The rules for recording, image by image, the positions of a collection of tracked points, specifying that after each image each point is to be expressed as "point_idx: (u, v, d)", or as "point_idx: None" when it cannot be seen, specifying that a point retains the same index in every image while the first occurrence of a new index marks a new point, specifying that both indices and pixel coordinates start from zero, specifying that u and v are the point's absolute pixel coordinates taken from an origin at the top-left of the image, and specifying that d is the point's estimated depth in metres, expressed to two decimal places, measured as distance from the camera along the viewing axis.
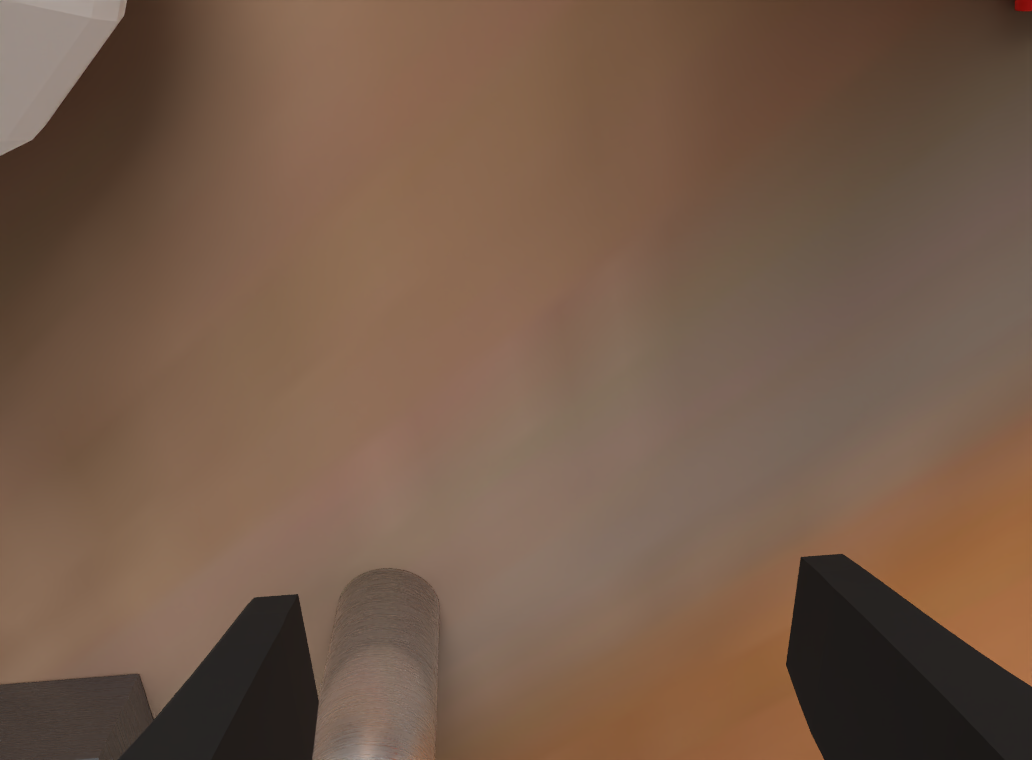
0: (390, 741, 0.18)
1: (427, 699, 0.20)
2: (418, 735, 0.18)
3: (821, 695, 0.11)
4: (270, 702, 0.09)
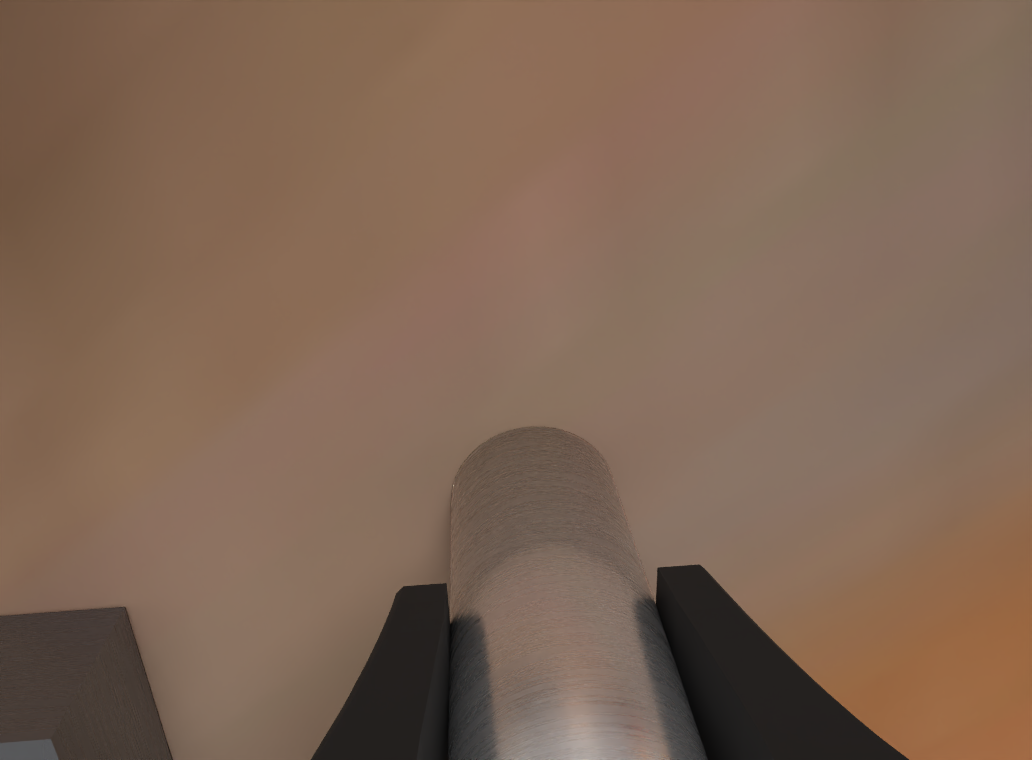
0: (638, 696, 0.09)
1: (660, 626, 0.11)
2: (674, 688, 0.09)
3: None
4: (441, 688, 0.10)
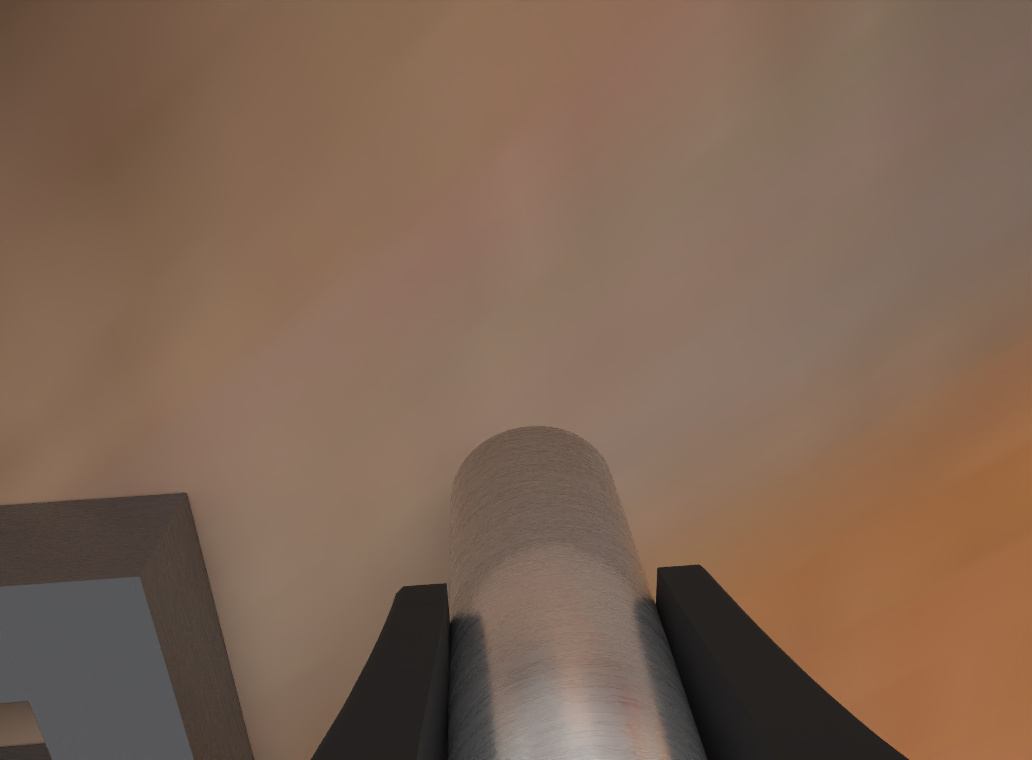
0: (637, 695, 0.09)
1: (660, 625, 0.11)
2: (673, 687, 0.09)
3: None
4: (441, 688, 0.10)
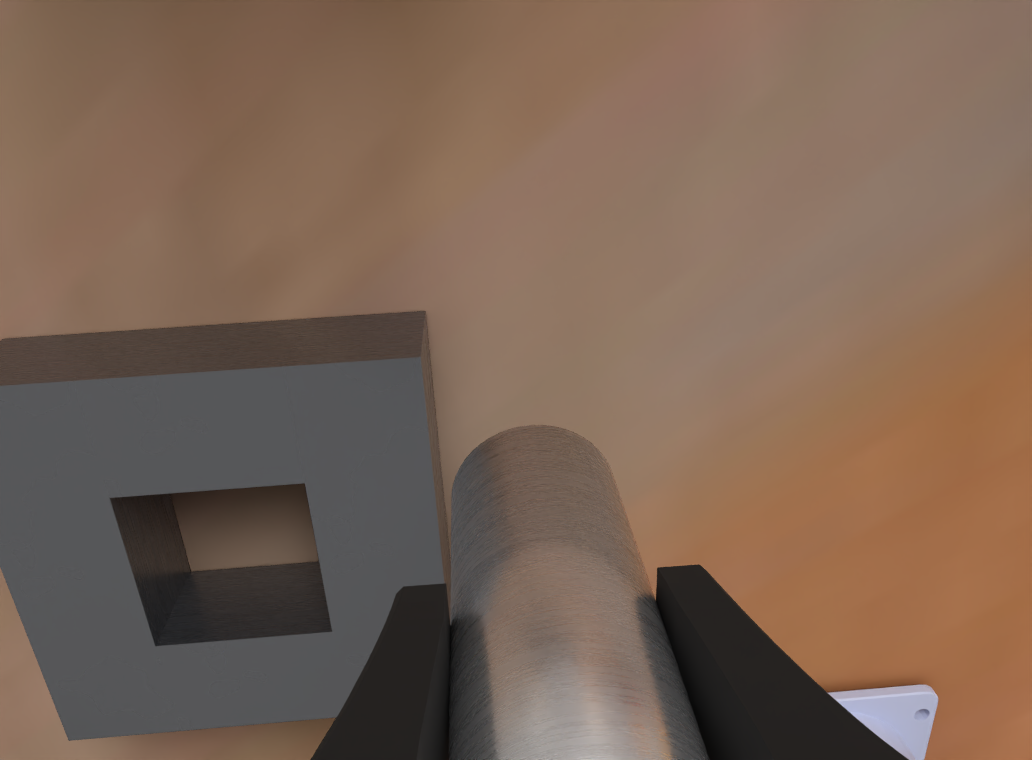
0: (638, 693, 0.09)
1: (661, 624, 0.11)
2: (675, 686, 0.09)
3: None
4: (441, 688, 0.10)
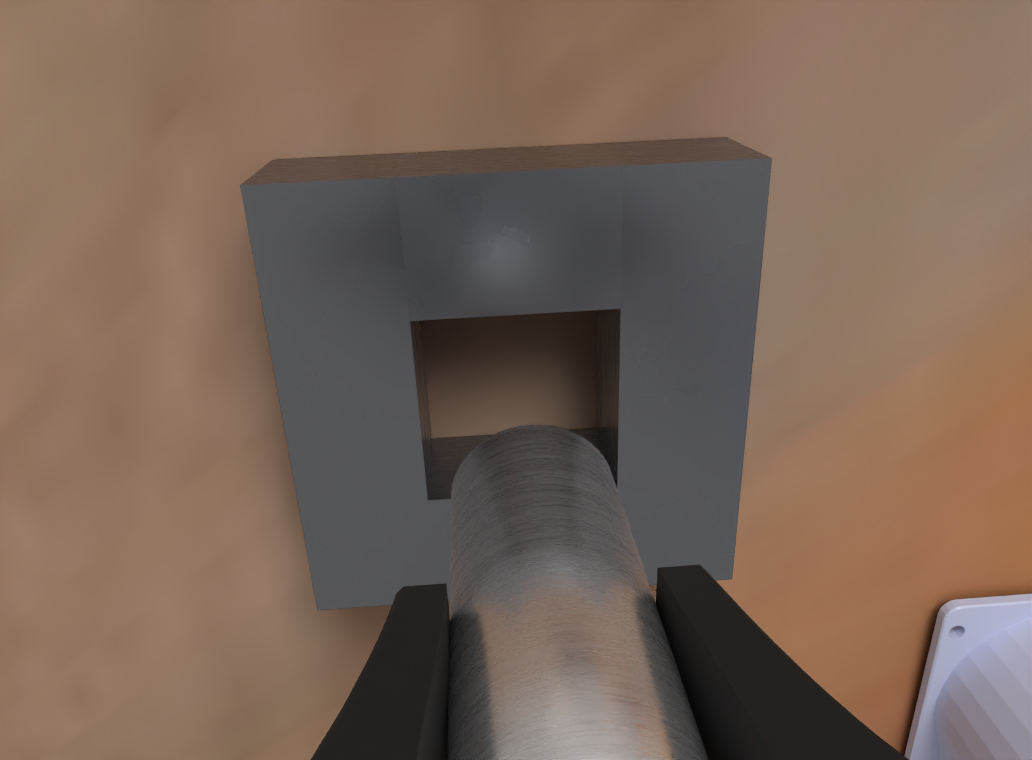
0: (637, 694, 0.09)
1: (660, 623, 0.10)
2: (674, 686, 0.09)
3: None
4: (441, 689, 0.10)
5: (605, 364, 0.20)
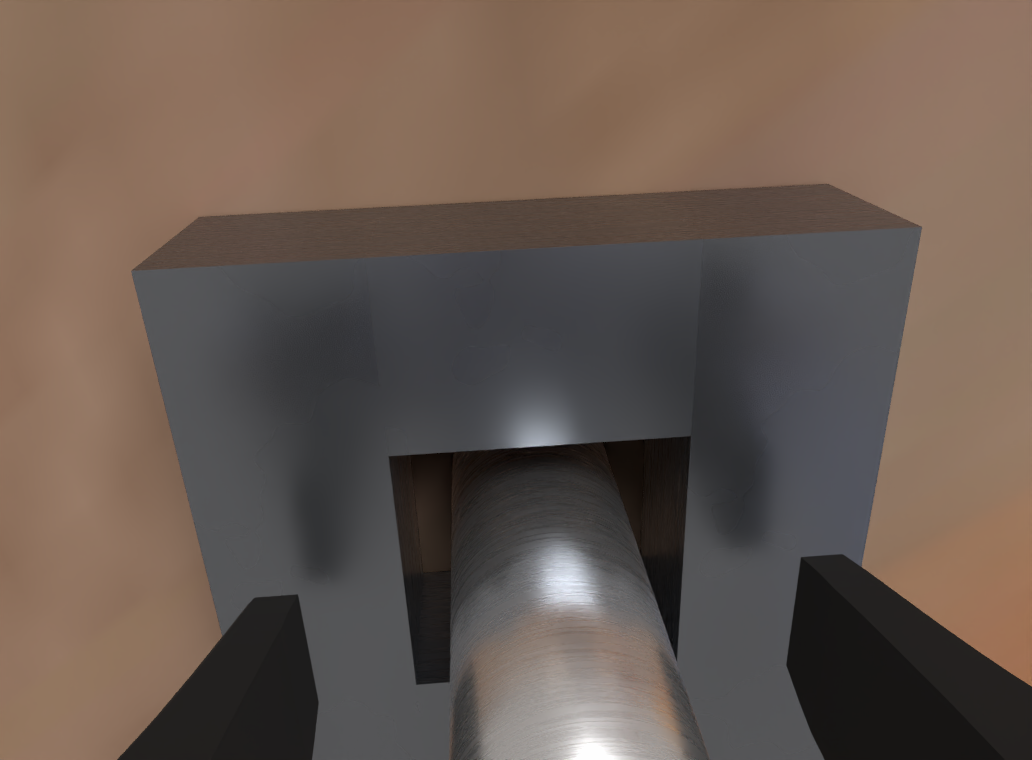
0: (621, 628, 0.09)
1: (645, 574, 0.11)
2: (655, 625, 0.10)
3: (821, 695, 0.11)
4: (270, 702, 0.09)
5: (658, 489, 0.14)
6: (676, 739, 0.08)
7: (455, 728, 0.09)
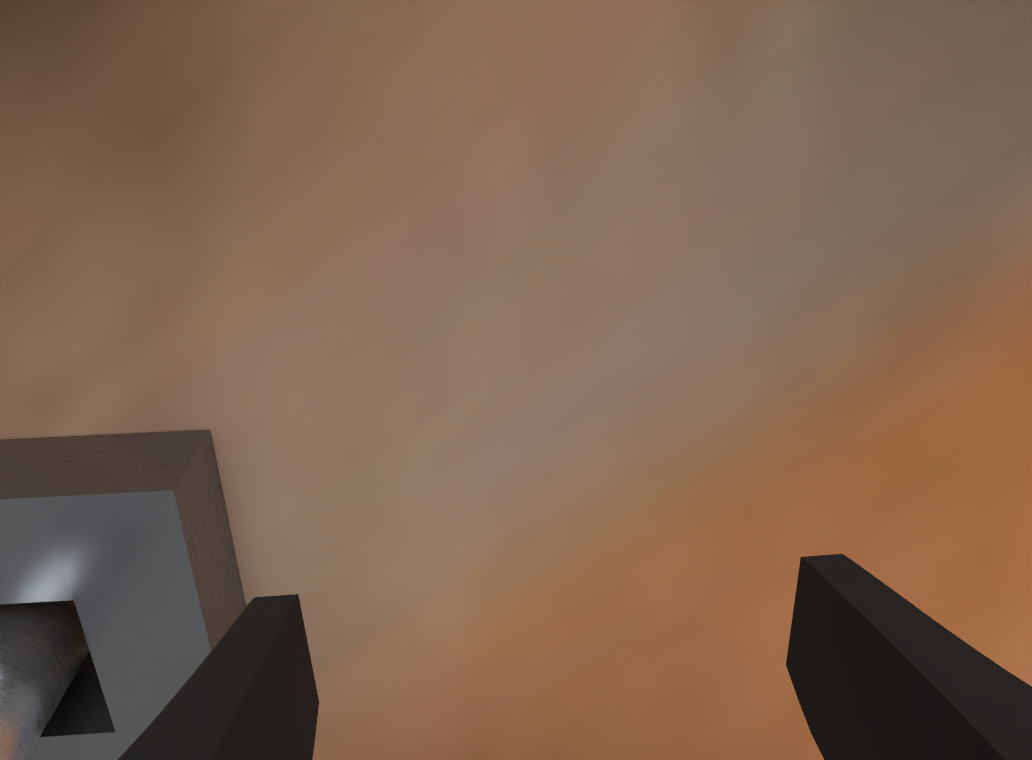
0: None
1: (29, 686, 0.19)
2: None
3: (821, 695, 0.11)
4: (270, 702, 0.09)
5: None
6: None
7: None
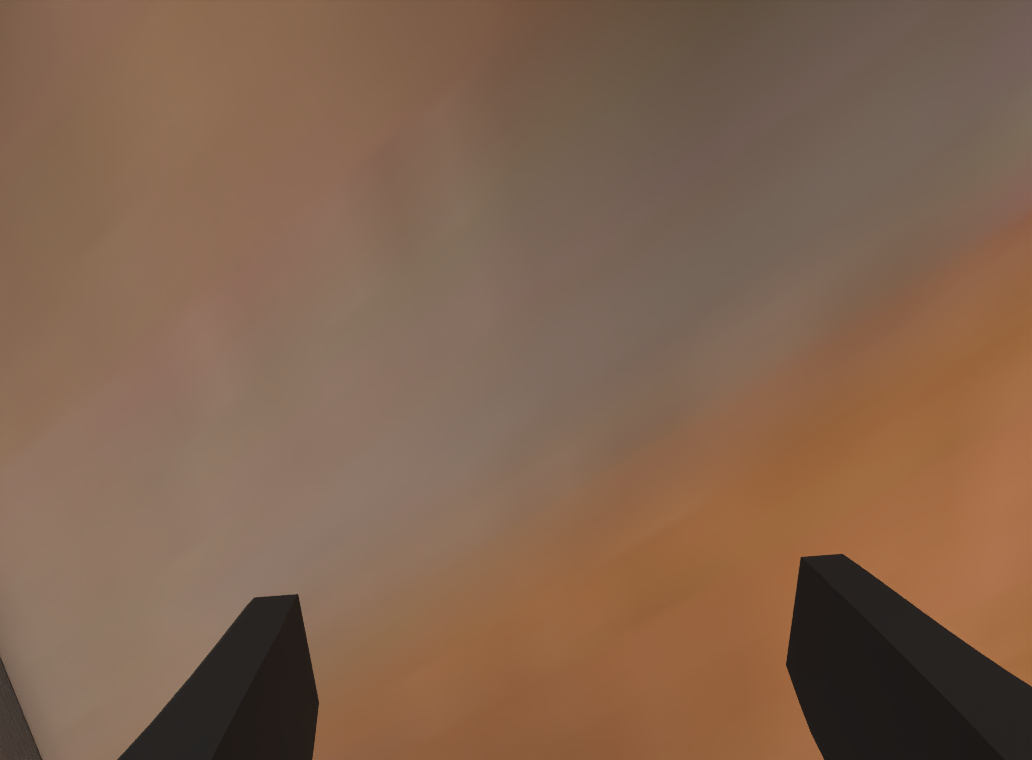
0: None
1: None
2: None
3: (821, 695, 0.11)
4: (270, 702, 0.09)
5: None
6: None
7: None
